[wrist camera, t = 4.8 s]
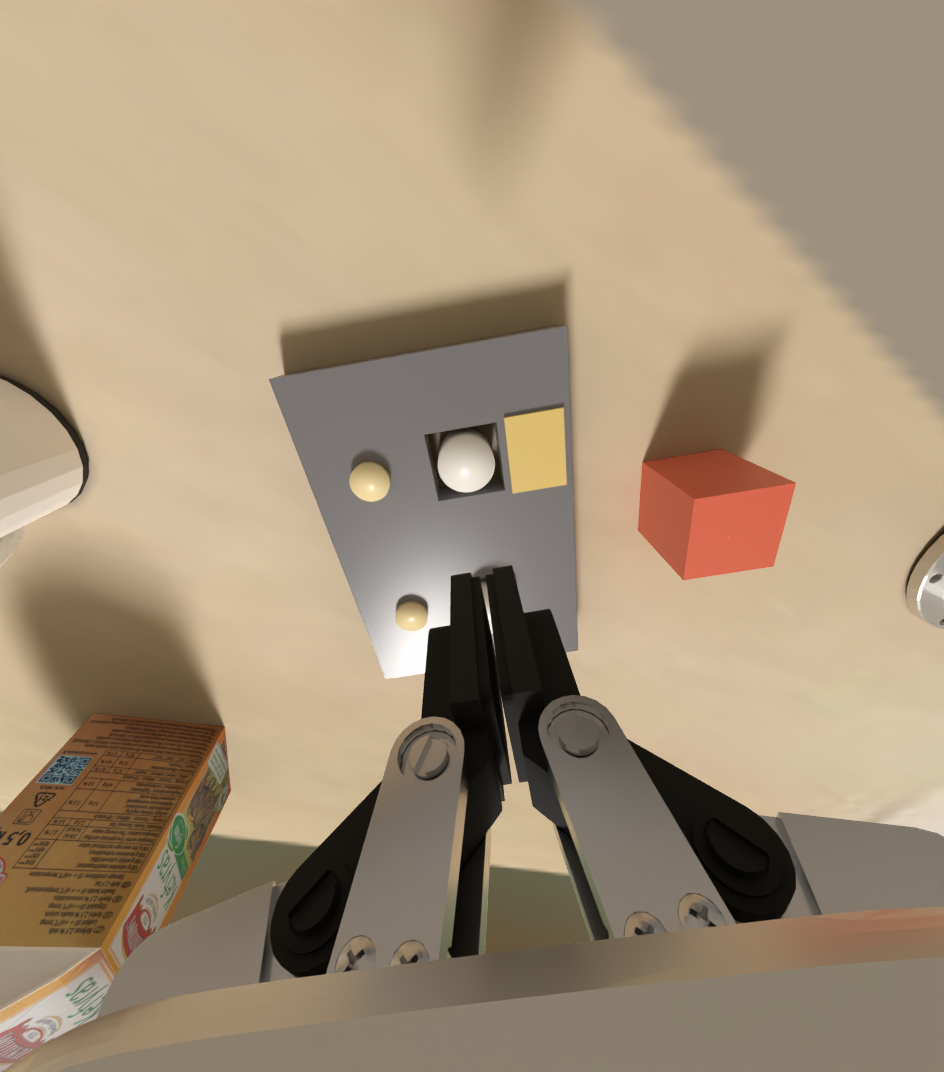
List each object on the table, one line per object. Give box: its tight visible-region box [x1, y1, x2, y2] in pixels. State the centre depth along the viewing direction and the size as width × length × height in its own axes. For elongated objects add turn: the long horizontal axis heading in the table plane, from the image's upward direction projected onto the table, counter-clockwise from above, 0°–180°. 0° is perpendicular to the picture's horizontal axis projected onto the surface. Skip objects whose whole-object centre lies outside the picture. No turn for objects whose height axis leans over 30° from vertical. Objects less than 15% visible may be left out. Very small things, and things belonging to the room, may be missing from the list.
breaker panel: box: [269, 326, 578, 679], centre depth 25 cm, size 15×22×3 cm
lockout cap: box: [638, 449, 796, 580], centre depth 23 cm, size 5×5×6 cm
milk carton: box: [0, 713, 231, 1072], centre depth 28 cm, size 11×11×19 cm
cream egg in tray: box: [438, 428, 495, 492], centre depth 22 cm, size 3×3×2 cm
